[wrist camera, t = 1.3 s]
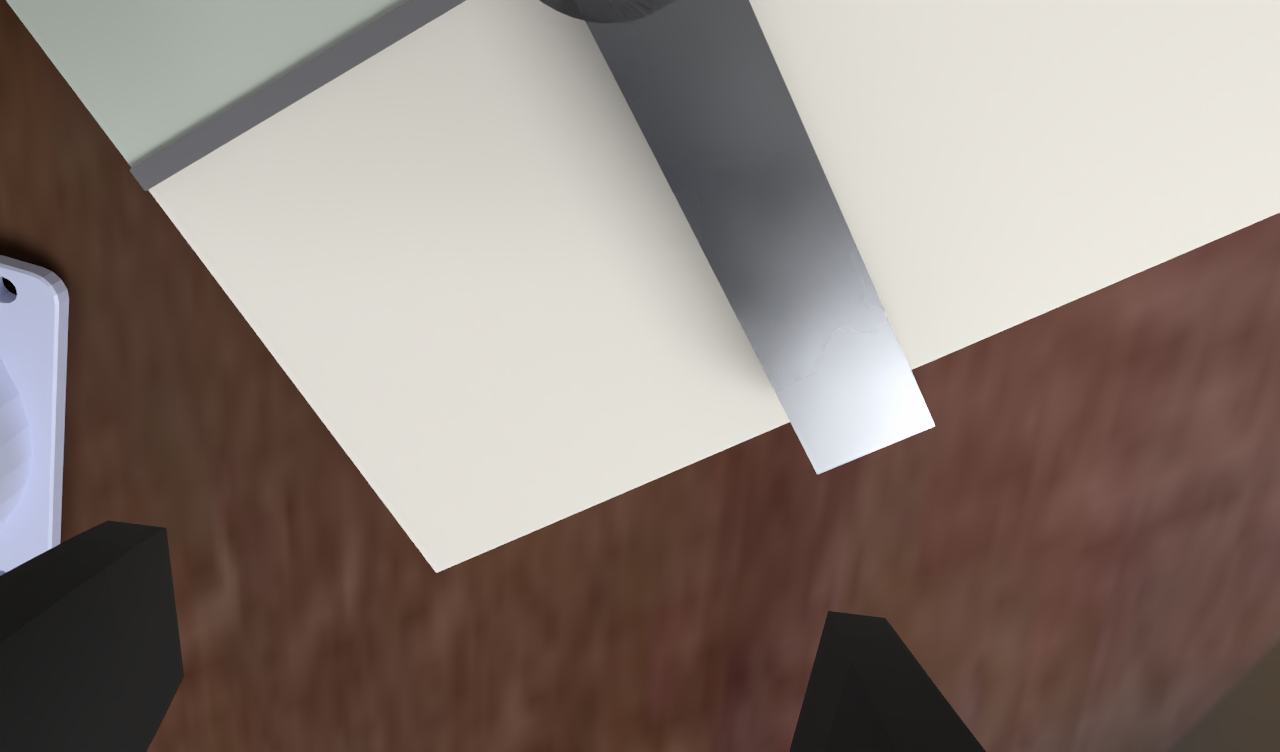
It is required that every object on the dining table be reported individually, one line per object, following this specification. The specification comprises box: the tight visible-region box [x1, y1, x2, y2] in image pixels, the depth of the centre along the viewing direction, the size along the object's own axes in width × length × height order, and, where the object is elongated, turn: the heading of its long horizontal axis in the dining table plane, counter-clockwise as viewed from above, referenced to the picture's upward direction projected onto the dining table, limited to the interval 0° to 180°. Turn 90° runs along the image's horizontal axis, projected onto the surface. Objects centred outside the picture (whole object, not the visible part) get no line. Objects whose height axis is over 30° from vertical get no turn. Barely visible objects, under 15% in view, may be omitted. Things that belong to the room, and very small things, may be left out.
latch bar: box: [540, 0, 935, 474], centre depth 13 cm, size 11×3×1 cm, turn 28°
